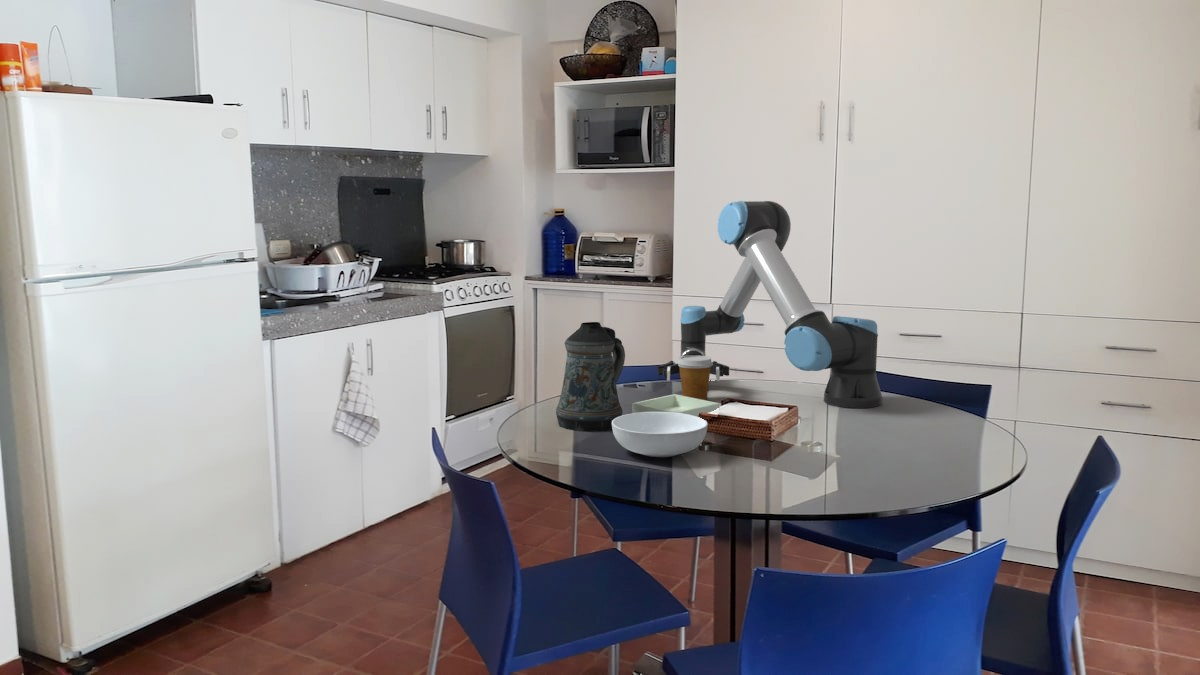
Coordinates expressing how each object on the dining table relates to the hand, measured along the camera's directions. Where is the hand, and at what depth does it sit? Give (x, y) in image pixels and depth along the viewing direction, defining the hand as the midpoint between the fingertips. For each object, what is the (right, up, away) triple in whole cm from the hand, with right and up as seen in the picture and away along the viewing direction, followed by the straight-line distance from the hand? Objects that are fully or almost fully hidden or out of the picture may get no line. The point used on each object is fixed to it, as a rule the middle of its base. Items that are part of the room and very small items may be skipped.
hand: (693, 375), depth 244 cm
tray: (-6, -10, -18) cm, 21 cm away
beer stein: (-28, -11, -22) cm, 37 cm away
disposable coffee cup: (0, -7, 0) cm, 7 cm away
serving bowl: (-13, -15, -49) cm, 53 cm away
